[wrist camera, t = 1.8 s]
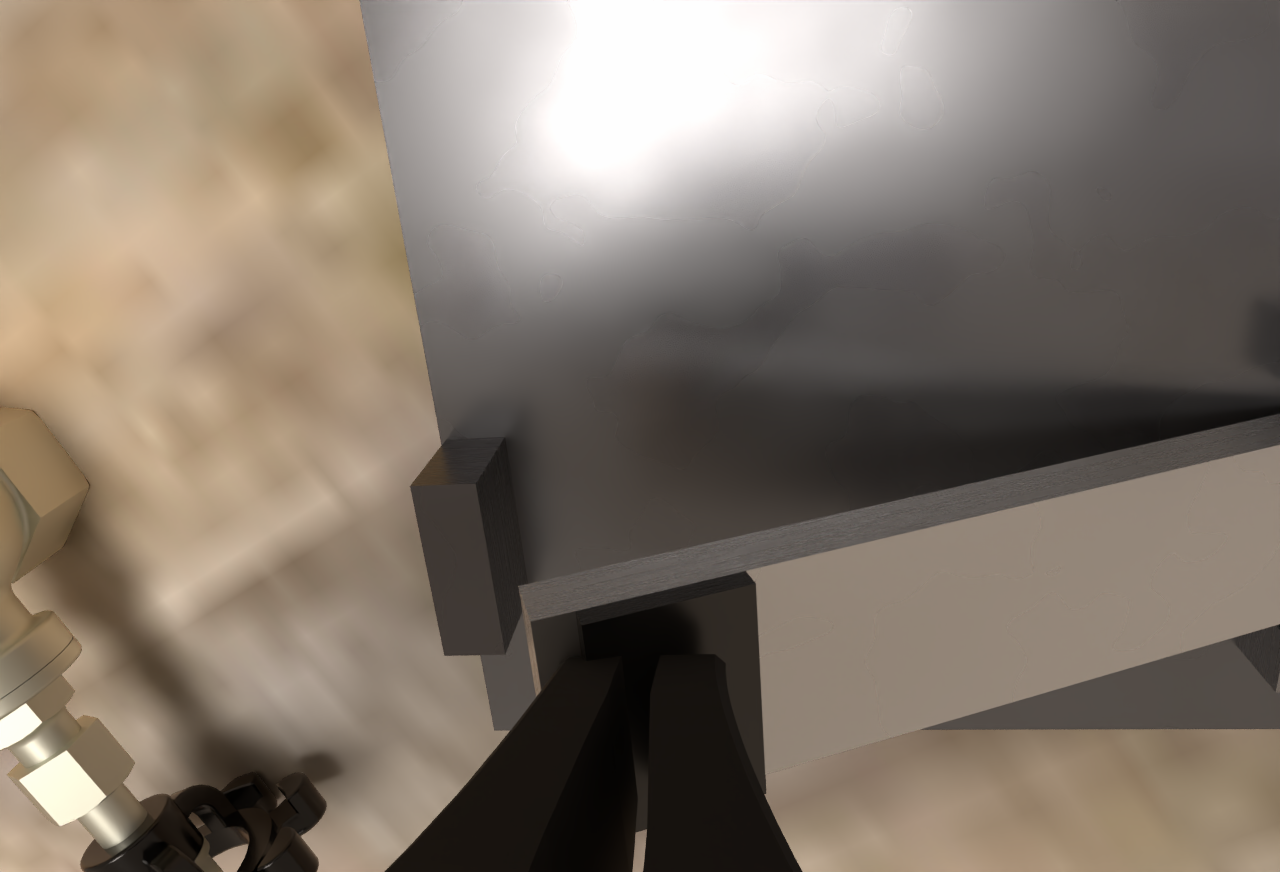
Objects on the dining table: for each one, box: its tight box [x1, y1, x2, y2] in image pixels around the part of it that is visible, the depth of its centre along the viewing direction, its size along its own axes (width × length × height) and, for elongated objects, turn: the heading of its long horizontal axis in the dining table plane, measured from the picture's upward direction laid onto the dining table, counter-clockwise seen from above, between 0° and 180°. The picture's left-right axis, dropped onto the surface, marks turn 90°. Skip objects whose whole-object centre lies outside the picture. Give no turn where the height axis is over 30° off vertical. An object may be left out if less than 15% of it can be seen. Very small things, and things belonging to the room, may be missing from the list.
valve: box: [0, 407, 327, 872], centre depth 18 cm, size 7×7×12 cm
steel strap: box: [518, 414, 1280, 832], centre depth 12 cm, size 12×3×1 cm, turn 96°
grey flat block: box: [359, 0, 1280, 730], centre depth 13 cm, size 15×23×5 cm, turn 5°
